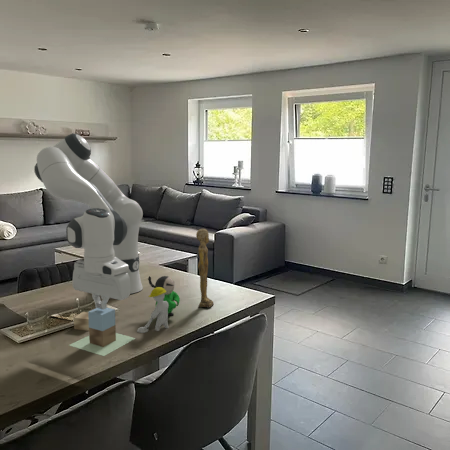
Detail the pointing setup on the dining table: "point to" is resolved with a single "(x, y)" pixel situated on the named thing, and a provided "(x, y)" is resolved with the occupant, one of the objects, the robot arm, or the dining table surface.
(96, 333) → the walnut brick
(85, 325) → the oak brick
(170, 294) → the toy
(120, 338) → the plate
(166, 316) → the figurine
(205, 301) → the sculpture
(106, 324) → the blue brick
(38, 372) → the dining table surface
